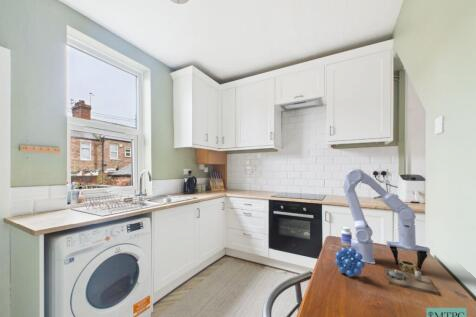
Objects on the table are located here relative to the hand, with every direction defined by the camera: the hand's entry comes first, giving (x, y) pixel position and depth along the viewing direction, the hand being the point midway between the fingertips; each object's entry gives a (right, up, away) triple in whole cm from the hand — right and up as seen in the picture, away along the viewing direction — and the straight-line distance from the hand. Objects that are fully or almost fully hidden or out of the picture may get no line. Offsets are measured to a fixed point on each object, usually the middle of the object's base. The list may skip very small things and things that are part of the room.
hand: (407, 266), depth 88 cm
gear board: (-7, -1, -9) cm, 12 cm away
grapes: (-28, -1, -5) cm, 29 cm away
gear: (0, -2, 0) cm, 2 cm away
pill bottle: (-11, -3, +29) cm, 32 cm away
